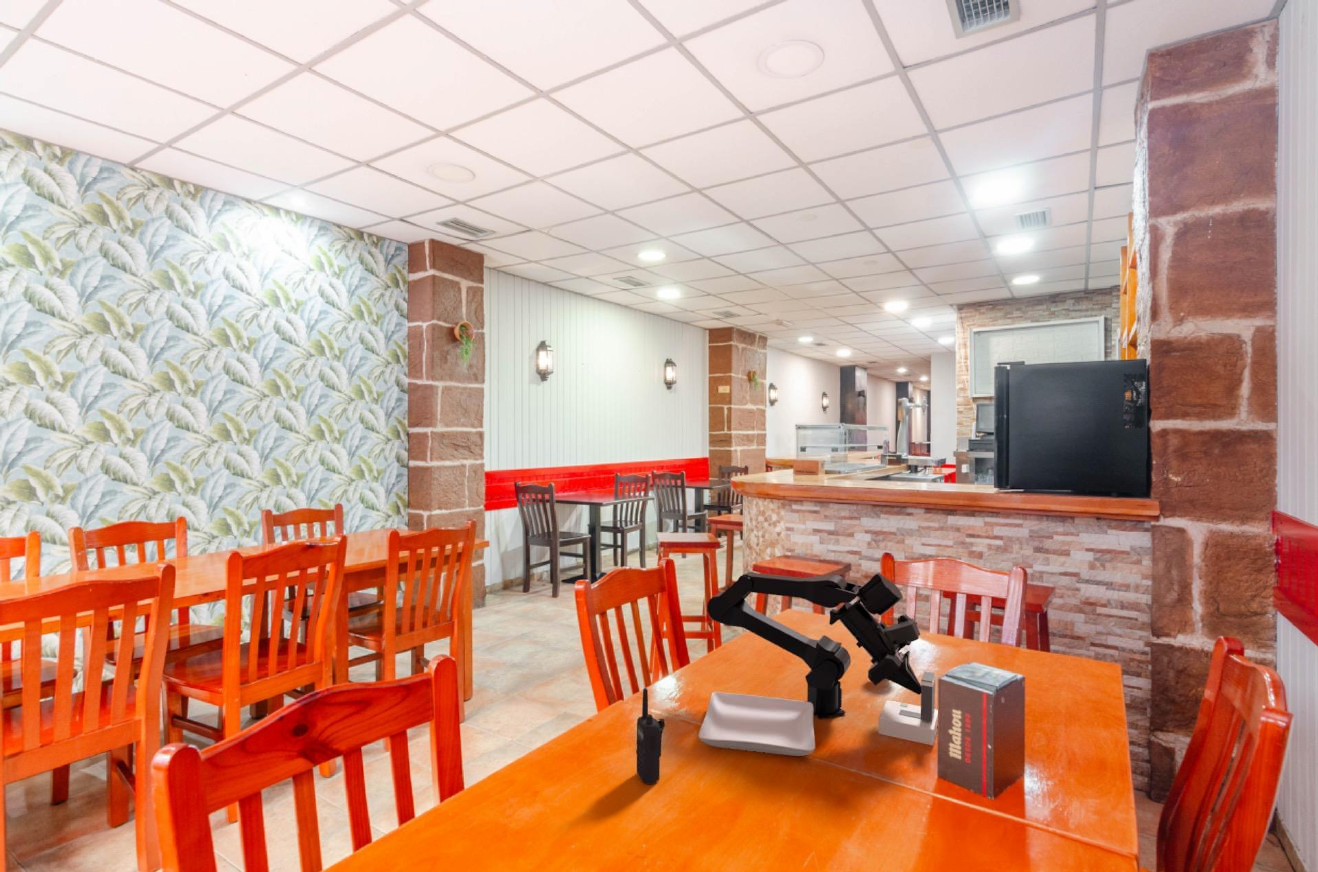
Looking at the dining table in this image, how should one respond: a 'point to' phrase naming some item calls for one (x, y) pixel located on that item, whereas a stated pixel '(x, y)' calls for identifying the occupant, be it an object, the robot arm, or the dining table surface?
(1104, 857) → the dining table surface
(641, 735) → the two-way radio
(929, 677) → the breaker toggle
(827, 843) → the dining table surface
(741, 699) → the salad plate
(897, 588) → the robot arm
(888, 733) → the block
